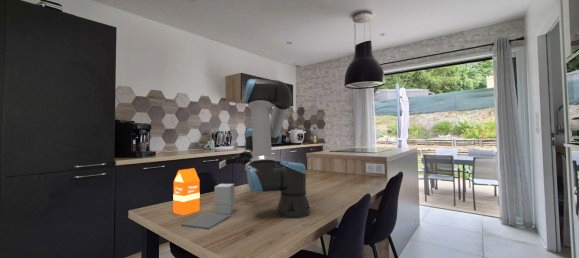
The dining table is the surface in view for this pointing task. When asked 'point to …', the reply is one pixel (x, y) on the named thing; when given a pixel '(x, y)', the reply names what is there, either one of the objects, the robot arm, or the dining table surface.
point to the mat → (206, 220)
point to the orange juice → (186, 192)
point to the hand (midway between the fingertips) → (232, 166)
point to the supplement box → (224, 199)
